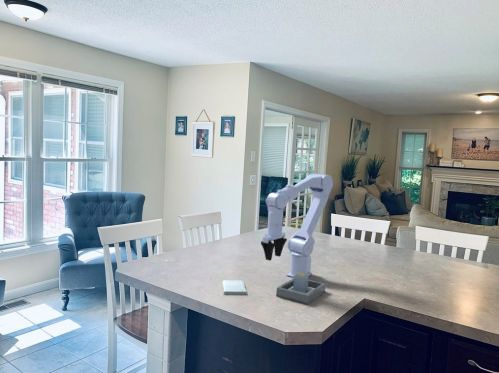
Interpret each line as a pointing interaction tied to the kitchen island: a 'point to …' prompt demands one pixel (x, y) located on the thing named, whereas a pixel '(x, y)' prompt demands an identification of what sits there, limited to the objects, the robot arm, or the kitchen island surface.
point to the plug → (301, 283)
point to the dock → (313, 292)
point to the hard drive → (234, 287)
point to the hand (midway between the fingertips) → (273, 257)
